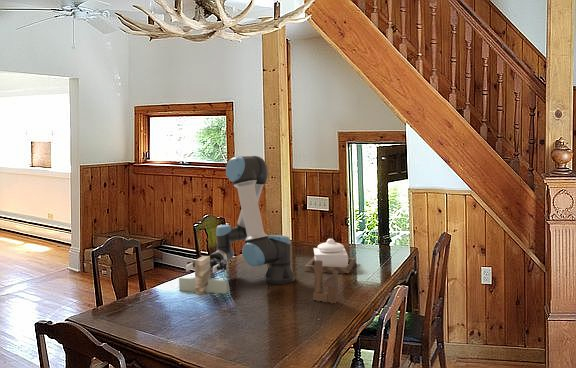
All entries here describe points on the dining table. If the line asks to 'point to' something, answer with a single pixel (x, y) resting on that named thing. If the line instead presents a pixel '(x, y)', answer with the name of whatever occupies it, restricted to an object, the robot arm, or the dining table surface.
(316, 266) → the wooden block
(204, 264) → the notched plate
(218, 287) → the notched rail
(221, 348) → the dining table surface
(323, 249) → the butter dish
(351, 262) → the dish tray rim
